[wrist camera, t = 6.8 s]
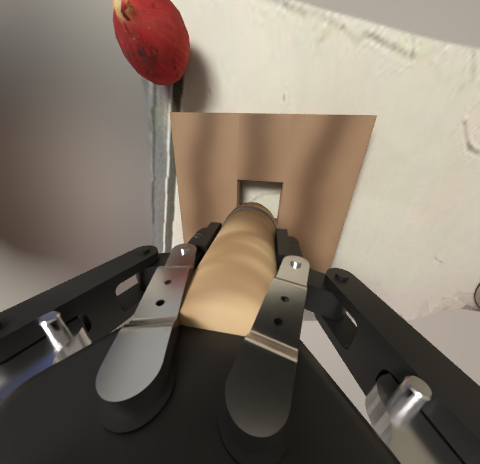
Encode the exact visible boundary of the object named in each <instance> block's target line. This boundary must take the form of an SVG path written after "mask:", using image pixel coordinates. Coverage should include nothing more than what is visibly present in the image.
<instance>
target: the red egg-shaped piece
mask: <svg viewBox="0 0 480 464" xmlns="http://www.w3.org/2000/svg"><path fill="white" fill-rule="evenodd" d="M112 4H113V6H114V12H113V23H114V29H115V35H116V38H117V41H118V43H119V45H120V47H121V50H122V52H123V54H124V56H125V58H126V59H127V60H128V62H129V63H130V64H131V65H132V66H133V68H134V69H135V70H136V71H137V73H139V74H140V75H141V76H142V77H144V78H146V79H147V80H149V81H151V82H153V83H154V84H158V85H172V84H174V83H175V82H177V81H178V80H180V79H181V78H182V76H183V74H184V72H185V70H186V68H187V67H188V62H189V56H190V43H189V35H188V32H187V29H186V27H185V24H184V21H183V19H182V17H181V14H180V12H179V11H178V9H177V8H176V7H175V6H174V4H173V3H172V2H171V1H170V0H114V1H113V3H112Z"/></svg>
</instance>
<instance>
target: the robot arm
mask: <svg viewBox="0 0 480 464" xmlns="http://www.w3.org/2000/svg"><path fill="white" fill-rule="evenodd" d="M221 228H222V223H218V222H211V223H210V224H209V225H208V226H207V228H202V229H200V230H198V231H197V232H196V233H195V235H194V236H193V237H192V238H191V239H190V240H189V241H188V243H187V244H180V245H177V246H175V247H174V248H173V249H172V251H171V253H159V254H158V249H157V248H156V247H155V246H141V247H138V248H136V249H134V250H132V251H129V252H127V253H125V254H124V255H121V256H119V257H117V258H115V259H113V260H110V261H108V262H106V263H104V264H102V265H100V266H98V267H96V268H93V269H91V270H89V271H87V272H85V273H83V274H81V275H79V276H77V277H74V278H72V279H70V280H68V281H66V282H64V283H62V284H60V285H58V286H55V287H53V288H51V289H49V290H47V291H45V292H43V293H40V294H38V295H36V296H34V297H32V298H30V299H28V300H26V301H24V302H22V303H19V304H17V305H15V306H13V307H11V308H9V309H7V310H5V311H3V312H0V464H480V386H479V385H478V384H477V383H475V382H474V381H473V380H472V379H471V378H470V377H468V376H467V375H466V374H465V373H464V372H463V371H462V370H461V369H460V368H458V367H457V366H456V365H455V364H454V363H453V362H451V361H450V360H449V359H448V358H447V357H446V356H445V355H444V354H442V353H441V352H440V351H439V350H438V349H437V348H436V347H434V346H433V345H432V344H431V343H430V342H429V341H428V340H427V339H425V338H424V337H423V336H422V335H421V334H420V333H419V332H418V331H416V330H415V329H414V328H413V327H412V326H411V325H410V324H408V323H407V322H406V321H405V320H404V319H403V318H402V317H401V316H399V315H398V314H397V313H396V312H395V311H394V310H393V309H391V308H390V307H389V306H388V305H387V304H386V303H385V302H384V301H382V300H381V299H380V298H379V297H378V296H377V295H376V294H374V293H373V292H372V291H371V290H370V289H369V288H368V287H367V286H365V285H364V284H363V283H362V282H361V281H360V280H359V279H357V278H356V277H355V276H354V275H353V274H351V273H350V272H348V271H346V270H343V269H339V268H330V269H328V270H327V271H326V274H325V273H321V272H318V271H315V270H313V269H311V268H310V265H309V262H308V261H307V260H305V259H304V258H303V256H302V252H301V249H300V245H299V242H298V240H297V239H296V238H295V237H291V236H288V232H287V229H279V228H276V257H277V276H276V277H275V276H274V277H273V279H272V281H271V284H270V286H269V288H268V291H267V293H266V295H265V298H264V300H263V302H262V305H261V307H260V309H259V312H258V314H257V316H256V319H255V321H254V323H253V326H252V328H251V330H250V332H249V333H248V334H247V335H246V336H241V335H235V334H229V333H224V332H218V331H212V330H206V329H201V328H195V327H189V326H183V325H180V323H181V322H180V315H179V311H180V308H181V304H182V301H183V298H184V295H185V292H186V289H187V286H188V284H189V281H190V279H191V277H192V275H193V273H194V272H195V270H196V268H197V267H198V265H199V264H200V262H201V260H202V259H203V257H204V255H205V254H206V252H207V251H208V249H209V247H210V246H211V244H212V242H213V241H214V239H215V238H216V236H217V234H218V233H219V231H220V230H221ZM135 274H136V278H137V281H138V283H137V284H136V285H134V286H132V287H131V288H129V289H128V290H126V291H125V292H123V293H121V294H120V295H118V296H116V293H115V291H116V288H117V286H118V285H119V284H120V283H121V282H123V281H125V280H127V279H128V278H130V277H132V276H133V275H135ZM475 298H476V302H477V304H478V306H479V307H480V286H479V287H478V289H477V291H476V295H475ZM304 309H307V310H309V311H312V312H314V315H315V317H316V319H317V320H318V322H319V323H320V325H321V326H322V328H323V330H324V331H325V333H326V334H327V336H328V338H329V339H330V341H331V342H332V344H333V345H334V347H335V349H336V350H337V352H338V353H339V355H340V356H341V358H342V360H343V361H344V363H345V364H346V366H347V367H348V369H349V370H350V372H351V374H352V375H353V377H354V378H355V380H356V381H357V383H358V384H359V386H360V388H361V389H362V391H363V392H364V394H365V395H366V400H365V406H366V411H367V414H368V416H369V418H370V421H371V425H370V424H369V423H368V422H367V420H366V419H365V418H364V417H363V416H362V415H361V413H360V412H359V411H358V409H357V408H356V407H355V406H354V405H353V403H352V402H351V401H350V400H349V398H348V397H347V396H346V395H345V394H344V392H343V391H342V390H341V389H340V387H339V386H338V385H337V384H336V383H335V381H333V379H332V378H331V377H330V375H329V374H328V373H327V372H326V370H325V369H324V368H323V367H322V366H321V364H320V363H319V362H318V361H317V359H316V358H315V357H314V356H313V355H312V354H311V352H310V351H309V350H308V349H307V347H306V346H305V345H304V344H303V342H302V341H301V340H300V333H301V326H302V320H303V313H304ZM346 311H348V313H349V314H350V315H351V316H352V317H353V318H354V320H355V322H356V324H357V327H356V326H355V324H354V323H353V322H352V321H351V319H350V318H349V317H348V316H347V315H346ZM132 315H133V317H132V319H131V321H130V322H129V323H127V324H125V325H124V326H122V327H121V328H119V329H117V330H115V331H113V330H114V329H116V328H117V327H118V326H119V325H121V324H122V323H123V322H125V321H126V320H127V319H128V318H130V317H131V316H132ZM112 331H113V332H112ZM109 333H110V334H109Z"/></svg>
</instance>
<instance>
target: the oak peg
mask: <svg viewBox="0 0 480 464" xmlns="http://www.w3.org/2000/svg"><path fill="white" fill-rule="evenodd" d="M274 276H275V277H276V276H277V257H276V225H275V220H274V217H273V215H272V214H271V212H270V211H269V210H268V209H267V208H266V207H264V206H263V205H261V204H259V203H254V202H250V203H244V204H241V205H239V206H237V207H236V208H235V209H234V210H233V211H232V212H231V213H230V214H229V215H228V216H227V218H226V219H225V221H224V223H223V226H222V228H221V230H220V231H219V233H218V234H217V236H216V238H215V239H214V241H213V242H212V244H211V246H210V247H209V249H208V251H207V252H206V254H205V255H204V257H203V259H202V260H201V262H200V264H199V265H198V267H197V268H196V270H195V272H194V273H193V275H192V277H191V279H190V281H189V284H188V286H187V289H186V292H185V295H184V298H183V301H182V304H181V308H180V311H179V315H180V322H181V323H180V325H183V326H189V327H195V328H201V329H206V330H212V331H218V332H224V333H229V334H235V335H241V336H246V335H247V334H248V333H249V332H250V330H251V328H252V326H253V323H254V321H255V319H256V316H257V314H258V312H259V309H260V307H261V305H262V302H263V300H264V298H265V295H266V293H267V291H268V288H269V286H270V284H271V281H272V279H273V277H274Z"/></svg>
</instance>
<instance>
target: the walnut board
mask: <svg viewBox="0 0 480 464" xmlns="http://www.w3.org/2000/svg"><path fill="white" fill-rule="evenodd" d="M376 117H377V116H375V115H314V114H252V113H191V112H170V119H171V128H172V137H173V146H174V156H175V165H176V174H177V183H178V192H179V201H180V211H181V220H182V229H183V238H184V244H187V243H188V241H189V240H190V239H191V238H192V237H193V236H194V235H195V233H196V232H197V231H198V230H200V229H202V228H207V226H208V225H209V224H210V223H211V222H218V223H222V226H223V223H224V221H225V219H226V218H227V216H228V215H229V214H230V213H231V212H232V211H233V210H234V209H235V208H236V207H237V206H239V205H240V185H241V180H254V181H269V182H282V187H281V194H280V201H279V209H278V216H277V218H274V220H275V225H276V228H279V229H287V232H288V236H291V237H295V238H296V239H297V240H298V242H299V245H300V249H301V252H302V256H303V258H304V259H305V260H307V261H308V262H309V265H310V268H311V269H313V270H315V271H318V272H321V273H325V274H326V271H327V270H328V269H330V267H331V264H332V261H333V258H334V254H335V251H336V248H337V245H338V241H339V238H340V235H341V231H342V228H343V225H344V222H345V218H346V215H347V212H348V209H349V205H350V202H351V199H352V196H353V192H354V189H355V186H356V183H357V179H358V176H359V173H360V169H361V166H362V163H363V160H364V156H365V153H366V150H367V147H368V143H369V140H370V137H371V134H372V130H373V127H374V124H375V120H376Z"/></svg>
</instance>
